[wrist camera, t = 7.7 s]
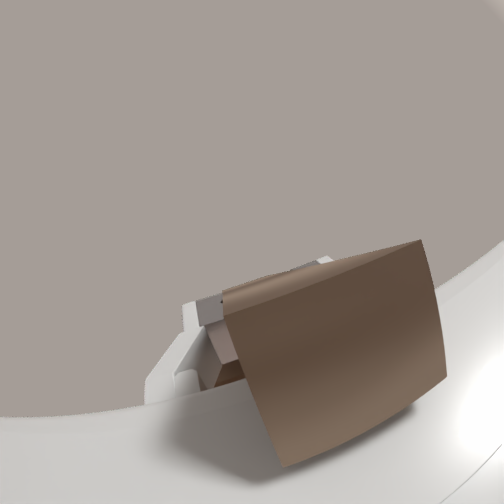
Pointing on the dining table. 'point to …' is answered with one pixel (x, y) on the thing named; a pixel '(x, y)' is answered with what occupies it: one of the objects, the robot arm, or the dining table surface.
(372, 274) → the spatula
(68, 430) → the robot arm
